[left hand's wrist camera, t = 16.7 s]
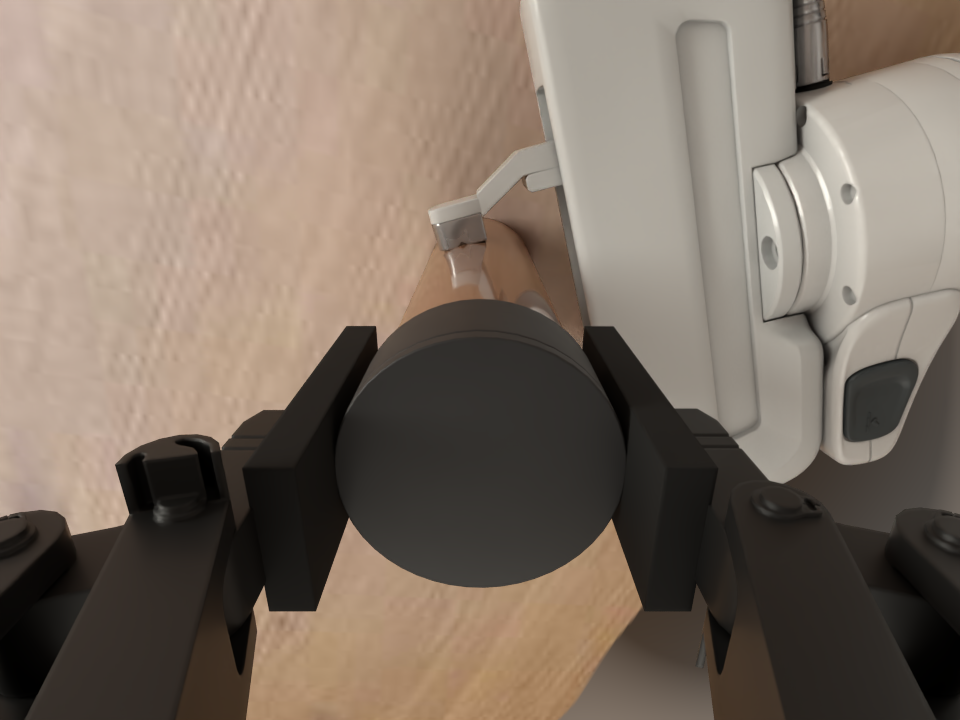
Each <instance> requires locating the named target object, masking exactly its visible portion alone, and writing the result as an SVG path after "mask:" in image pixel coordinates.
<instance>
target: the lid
mask: <svg viewBox="0 0 960 720" xmlns="http://www.w3.org/2000/svg"><path fill="white" fill-rule="evenodd" d="M626 459H627V451H626V444H625V437H624V434H623V431H622V428H621V425H620V421H619V419H618V417H617V415H616V413H615V411H614V409H613V407H612V405H611V403H610V401H609V399H608V397H607V395H606V393H605V391H604V389H603V387H602V385H601V383H600V381H599V379H598V377H597V375H596V373H595V371H594V369H593V367H592V365H591V363H590V362H589V360H588V358H587V356H586V354H585V353H584V351H583V350H582V349H581V347H580V346H579V344H578V343H577V342H576V341H575V340H574V339H573V338H572V336H571V335H570V334H569V333H568V332H567V331H565V330H564V329H563V328H562V327H561V326H559V325H558V324H557V323H556V322H554V321H553V320H551V319H549V318H548V317H546V316H544V315H543V314H541V313H539V312H537V311H534V310H532V309H530V308H528V307H525V306H521V305H518V304H515V303H511V302H506V301H500V300H494V299H470V300H459V301H455V302H451V303H446V304H442V305H439V306H437V307H434V308H431V309H428V310H426V311H424V312H422V313H420V314H419V315H417V316H415V317H413V318H411V319H410V320H409V321H407V322H406V323H404V324H403V325H401V326H400V327H399V328H398V329H397V330H396V331H395V332H394V333H392V334H391V335H390V336H389V337H388V338H387V340H386V341H385V342H384V343H383V345H382V346H381V347H380V348H379V349H378V351H377V353H376V354H375V356H374V358H373V360H372V361H371V363H370V365H369V367H368V369H367V371H366V373H365V375H364V377H363V379H362V381H361V383H360V385H359V387H358V389H357V391H356V393H355V395H354V397H353V399H352V401H351V403H350V405H349V407H348V409H347V411H346V413H345V415H344V418H343V420H342V423H341V425H340V428H339V431H338V435H337V439H336V444H335V454H334V464H335V473H336V482H337V488H338V493H339V496H340V498H341V501H342V504H343V506H344V509H345V511H346V513H347V514H348V516H349V518H350V520H351V521H352V523H353V525H354V526H355V527H356V529H357V530H358V531H359V533H360V534H361V535H362V537H363V538H364V539H365V540H366V541H367V542H368V543H369V544H370V545H371V546H372V547H373V548H374V549H375V550H377V551H378V552H379V553H380V554H382V555H383V556H384V557H385V558H387V559H388V560H390V561H391V562H393V563H394V564H396V565H398V566H399V567H401V568H403V569H405V570H407V571H409V572H411V573H413V574H415V575H418V576H421V577H423V578H426V579H429V580H432V581H436V582H440V583H444V584H448V585H455V586H462V587H481V588H486V587H499V586H506V585H512V584H518V583H522V582H525V581H529V580H532V579H535V578H538V577H540V576H543V575H545V574H548V573H550V572H552V571H554V570H556V569H558V568H560V567H562V566H563V565H565V564H567V563H568V562H570V561H571V560H573V559H574V558H576V557H577V556H578V555H580V554H581V553H582V552H583V551H584V550H585V549H587V548H588V547H589V546H590V545H591V544H592V543H593V542H594V541H595V540H596V539H597V537H598V536H599V535H600V534H601V533H602V532H603V530H604V529H605V527H606V526H607V524H608V523H609V521H610V520H611V518H612V517H613V515H614V513H615V510H616V508H617V506H618V504H619V502H620V499H621V496H622V492H623V485H624V477H625V468H626Z"/></svg>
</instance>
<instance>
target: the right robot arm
mask: <svg viewBox="0 0 960 720" xmlns="http://www.w3.org/2000/svg"><path fill="white" fill-rule="evenodd" d="M824 8H825V5H824V0H521V2H520V17H521V23H522V28H523V33H524V38H525V43H526V48H527V53H528V58H529V63H530V67H531V72H532V77H533V82H534V87H535V92H536V97H537V102H538V107H539V112H540V117H541V122H542V127H543V132H544V137H545V141H546V142H543V143H540V144H536V145H533V146H529V147H526V148H522V149H519V150H516V151H514V152H513V153H512V154H511V155H510V156H509V157H508V158H507V159H506V160H505V161H504V162H503V163H502V164H501V165H500V167H499V168H498V169H497V170H496V171H495V172H494V173H493V174H492V175H491V176H490V177H489V178H488V179H487V180H486V181H485V182H484V183H483V184H482V185H481V186H480V187H479V188H478V189H477V194H474V195H471V196H467V197H463V198H460V199H456V200H453V201H449V202H445V203H442V204H439V205H436V206H434V207H431V208H430V209H429V210H428V213H429V217H430V221H431V224H432V227H433V230H434V234H435V237H436V240H437V243H438V247H439V250H440V251H446V250H451V249H453V248H456V247H458V246H459V245H460V243H461V242H463V243H466V244H473V243H477V242H481V241H484V240H487V233H486V228H485V224H484V220H483V216H484V215H485V214H486V213H487V212H488V211H489V210H490V209H491V208H492V207H493V206H494V205H495V204H496V203H497V202H498V201H499V200H500V199H501V198H502V197H503V196H504V195H505V194H506V193H507V192H508V191H509V190H510V189H511V188H512V187H513V186H514V185H515V184H516V183H517V182H518V181H519V180H520V179H521V178H522V181H523V186H525V187H526V188H527V189H528V190H529V191H531V192H535V191H539V190H543V189H547V188H551V187H555V191H556V196H557V201H558V206H559V211H560V216H561V220H562V225H563V230H564V235H565V240H566V245H567V250H568V255H569V260H570V265H571V270H572V275H573V280H574V285H575V290H576V295H577V299H578V304H579V309H580V314H581V319H582V324H583V329H584V326H614V327H615V329H616V330H617V331H618V333H619V334H620V335H621V337H622V338H623V339H624V341H625V342H626V344H627V345H628V346H629V348H630V349H631V350H632V352H633V353H634V354H635V356H636V357H637V358H638V360H639V361H640V363H641V364H642V365H643V367H644V368H645V369H646V371H647V372H648V373H649V375H650V376H651V377H652V379H653V380H654V382H655V383H656V384H657V386H658V387H659V388H660V390H661V391H662V392H663V394H664V395H665V396H666V398H667V399H668V400H669V402H670V403H671V405H672V406H673V407H674V408H697V409H699V410H701V411H702V412H704V413H706V414H707V415H709V416H711V417H713V418H714V419H716V420H717V421H718V422H719V423H720V424H721V425H722V426H723V428H724V429H725V430H726V431H727V432H728V433H729V437H732V438H733V439H734V440H735V441H736V443H737V444H738V445H739V448H742V450H743V451H744V452H745V453H746V454H747V455H748V457H749V458H750V459H751V460H752V461H753V462H754V464H755V465H756V466H757V467H758V468H759V469H760V470H761V472H762V473H763V474H764V475H765V476H766V477H767V479H768V480H769V481H773V482H777V483H782V484H783V483H785V482H787V481H789V480H791V479H793V478H794V477H796V476H798V475H799V474H800V473H802V472H803V471H804V470H805V469H806V468H807V467H808V466H809V465H810V464H811V463H812V461H813V460H814V458H815V457H816V455H817V453H818V451H819V449H820V450H821V451H823V452H824V453H826V454H827V455H828V456H830V457H831V458H833V459H834V460H836V461H837V462H839V463H841V464H844V465H855V464H862V463H867V462H871V461H875V460H877V459H880V458H882V457H884V456H885V455H887V454H888V453H889V452H890V451H891V450H892V448H893V447H894V445H895V444H896V442H897V440H898V437H899V435H900V433H901V430H902V428H903V425H904V423H905V420H906V417H907V415H908V412H909V410H910V407H911V405H912V402H913V400H914V398H915V395H916V393H917V391H918V389H919V386H920V384H921V382H922V380H923V378H924V376H925V374H926V371H927V369H928V367H929V365H930V363H931V362H932V360H933V358H934V356H935V354H936V352H937V351H938V349H939V347H940V345H941V344H942V342H943V341H944V339H945V337H946V336H947V334H948V332H949V331H950V329H951V328H952V326H953V324H954V323H955V321H956V319H957V317H958V314H959V313H960V53H945V54H936V55H930V56H926V57H921V58H917V59H913V60H911V61H907V62H903V63H900V64H896V65H892V66H889V67H885V68H881V69H878V70H874V71H871V72H867V73H863V74H860V75H856V76H853V77H849V78H845V79H842V80H837V81H834V82H832V81H829V48H828V26H827V19H825V17H826V11H825V10H824Z"/></svg>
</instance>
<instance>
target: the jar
mask: <svg viewBox="0 0 960 720" xmlns="http://www.w3.org/2000/svg"><path fill="white" fill-rule="evenodd" d="M483 220H484V224H485V228H486V233H487V240H484V241H481V242H477V243H473V244H466V243H463V242H461V243H460V245H459V246H458V247H456V248H453V249H451V250H446V251H440V250H439V247H438V243H436V245H435V247H434V249H433V251H432V254H431V256H430V258H429V260H428V263H427V265H426V267H425V269H424V271H423V274H422V276H421V278H420V280H419V283H418V285H417V287H416V289H415V292H414V294H413V296H412V298H411V300H410V303H409V305H408V307H407V309H406V312H405V314H404V316H403V318H402V320H401V323H400V325H399V327H400V326H401V325H403V324H404V323H406V322H407V321H409V320H410V319H411V318H413V317H415V316H417V315H419V314H420V313H422V312H424V311H426V310H428V309H431V308H434V307H437V306H439V305H442V304H446V303H451V302H455V301H459V300H470V299H494V300H500V301H506V302H511V303H515V304H518V305H521V306H525V307H528V308H530V309H532V310H534V311H537V312H539V313H541V314H543V315H544V316H546V317H548V318H549V319H551V320H553V321H554V322H556V323H557V324H558V325H559V326H561V327H562V325H561V323H560V321H559V319H558V316H557V314H556V312H555V310H554V308H553V305H552V303H551V301H550V299H549V296H548V294H547V292H546V290H545V288H544V285H543V283H542V281H541V279H540V277H539V274H538V272H537V270H536V268H535V265H534V263H533V261H532V259H531V257H530V254H529V252H528V250H527V248H526V246H525V244H524V242H523V241H522V239H521V238H520V237H519V235H518V234H517V233H516V232H515V231H514V230H512V229H511V228H510V227H508V226H507V225H505V224H503V223H501V222H498V221H496V220H492V219H487V218H483ZM399 327H398V328H399ZM562 328H563V327H562Z"/></svg>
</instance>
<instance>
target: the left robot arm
mask: <svg viewBox="0 0 960 720" xmlns="http://www.w3.org/2000/svg"><path fill="white" fill-rule="evenodd" d="M377 351H378V346H377V332H376V326H346V328H345V329H344V330H343V332H342V333H341V334H340V336H339V337H338V339H337V340H336V341H335V343H334V344H333V345H332V347H331V348H330V349H329V351H328V352H327V353H326V355H325V356H324V358H323V359H322V360H321V362H320V363H319V364H318V366H317V367H316V368H315V370H314V371H313V372H312V374H311V375H310V377H309V378H308V379H307V381H306V382H305V383H304V385H303V386H302V387H301V389H300V390H299V391H298V393H297V394H296V396H295V397H294V398H293V400H292V401H291V402H290V404H289V405H288V406H287V408H286V409H285V410H263V411H261V412H260V413H258V414H256V415H255V416H253V417H251V418H249V419H248V420H246V421H244V422H243V423H242V424H241V426H240V427H239V428H238V429H237V430H236V431H235V433H234V434H233V435H232V438H231V439H229V440H228V441H227V442H226V443H225V444H224V445H223V447H222V450H220V446H219V443H218V442H217V441H216V440H214V439H213V438H212V437H208V436H203V435H198V434H194V435H177V436H172V437H167V438H162V439H158V440H156V441H153V442H150V443H147V444H144V445H142V446H140V447H138V448H136V449H134V450H133V451H131V452H129V453H127V454H126V455H124V456H123V457H122V458H121V459H120V460H119V461H118V462H117V463H116V464H115V466H116V470H117V473H118V476H119V480H120V483H121V487H122V490H123V493H124V497H125V500H126V504H127V507H128V511H129V514H130V515H129V517H128V519H127V521H126V522H125V524H124V525H122V526H118V527H114V528H108V529H103V530H98V531H93V532H88V533H83V534H78V535H73V536H71V534H70V531H69V528H68V525H67V522H66V519H65V518H64V517H63V516H62V515H60V514H59V513H57V512H53V511H45V510H38V511H30V512H19V513H15V514H10V516H4V517H1V518H0V720H246V714H247V706H248V699H249V691H250V683H251V675H252V667H253V659H254V651H255V643H256V635H257V628H256V621H255V616H254V611H253V607H254V605H255V603H256V601H257V599H258V597H259V595H260V593H261V591H262V589H263V587H264V586H265V591H266V597H267V602H268V607H269V611H316V609H317V606H318V604H319V601H320V598H321V595H322V592H323V589H324V587H325V584H326V581H327V578H328V575H329V572H330V570H331V567H332V564H333V561H334V558H335V555H336V553H337V550H338V547H339V544H340V541H341V538H342V535H343V533H344V530H345V527H346V524H347V521H348V518H349V516H348V514H347V513H346V511H345V509H344V506H343V504H342V501H341V498H340V496H339V493H338V488H337V482H336V473H335V464H334V454H335V444H336V439H337V435H338V431H339V428H340V425H341V423H342V420H343V418H344V415H345V413H346V411H347V409H348V407H349V405H350V403H351V401H352V399H353V397H354V395H355V393H356V391H357V389H358V387H359V385H360V383H361V381H362V379H363V377H364V375H365V373H366V371H367V369H368V367H369V365H370V363H371V361H372V360H373V358H374V356H375V354H376V353H377ZM583 351H584V353H585V354H586V356H587V358H588V360H589V362H590V363H591V365H592V367H593V369H594V371H595V373H596V375H597V377H598V379H599V381H600V383H601V385H602V387H603V389H604V391H605V393H606V395H607V397H608V399H609V401H610V403H611V405H612V407H613V409H614V411H615V413H616V415H617V417H618V419H619V421H620V425H621V428H622V431H623V434H624V437H625V444H626V451H627V459H626V468H625V477H624V485H623V492H622V496H621V499H620V502H619V504H618V506H617V508H616V510H615V513H614V515H613V517H612V520H613V523H614V526H615V529H616V532H617V535H618V537H619V540H620V543H621V546H622V549H623V552H624V554H625V557H626V560H627V563H628V566H629V569H630V572H631V574H632V577H633V580H634V583H635V586H636V589H637V591H638V594H639V597H640V600H641V603H642V606H643V608H644V611H691V609H692V604H693V598H694V593H695V588H696V583H697V585H698V587H699V589H700V591H701V593H702V595H703V597H704V599H705V601H706V603H707V605H708V606H707V611H706V616H705V621H704V626H703V630H702V635H701V640H700V645H699V650H698V655H697V662H696V667H701V668H703V667H704V662H705V658H707V665H708V673H709V681H710V689H711V697H712V705H713V713H714V720H960V514H956V513H954V514H952V512H949V511H944V510H935V509H927V508H913V509H905V510H903V511H902V512H900V513H899V514H898V515H896V518H895V521H894V523H893V526H892V529H891V532H890V533H885V532H880V531H875V530H870V529H864V528H859V527H854V526H849V525H844V524H840V523H836V522H835V521H834V520H833V518H832V516H831V514H830V513H829V511H828V510H827V509H826V508H825V507H824V505H823V504H822V503H821V502H819V501H818V500H817V499H815V498H814V497H812V496H811V495H809V494H808V493H806V492H804V491H801V490H799V489H796V488H794V487H792V486H789V485H786V484H782V483H777V482H773V481H769V480H768V479H767V477H766V476H765V475H764V474H763V473H762V472H761V470H760V469H759V468H758V467H757V466H756V465H755V464H754V462H753V461H752V460H751V459H750V458H749V457H748V455H747V454H746V453H745V452H744V451H743V450H742V448H739V445H738V444H737V443H736V441H735V440H734V439H733V438H732V437H729V433H728V432H727V431H726V430H725V429H724V428H723V426H722V425H721V424H720V423H719V422H718V421H717V420H716V419H714V418H713V417H711V416H709V415H707V414H706V413H704V412H702V411H701V410H699V409H697V408H674V407H673V406H672V405H671V403H670V402H669V400H668V399H667V398H666V396H665V395H664V394H663V392H662V391H661V390H660V388H659V387H658V386H657V384H656V383H655V382H654V380H653V379H652V377H651V376H650V375H649V373H648V372H647V371H646V369H645V368H644V367H643V365H642V364H641V363H640V361H639V360H638V358H637V357H636V356H635V354H634V353H633V352H632V350H631V349H630V348H629V346H628V345H627V344H626V342H625V341H624V339H623V338H622V337H621V335H620V334H619V333H618V331H617V330H616V329H615V327H614V326H584V336H583Z"/></svg>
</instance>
